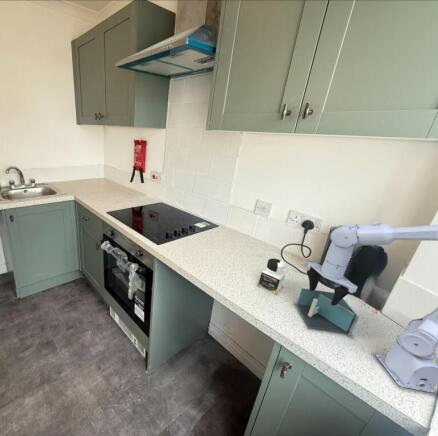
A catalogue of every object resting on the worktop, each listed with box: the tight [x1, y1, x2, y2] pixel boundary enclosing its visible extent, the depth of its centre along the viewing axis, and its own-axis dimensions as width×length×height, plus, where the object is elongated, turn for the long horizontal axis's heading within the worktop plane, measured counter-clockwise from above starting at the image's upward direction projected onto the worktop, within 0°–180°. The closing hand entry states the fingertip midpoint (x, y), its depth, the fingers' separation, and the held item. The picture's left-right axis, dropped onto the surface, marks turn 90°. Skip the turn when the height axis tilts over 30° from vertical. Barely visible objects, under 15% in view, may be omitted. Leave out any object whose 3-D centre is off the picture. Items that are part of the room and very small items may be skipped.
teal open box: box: [295, 287, 360, 337], centre depth 83 cm, size 12×12×8 cm
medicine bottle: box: [258, 258, 287, 294], centre depth 99 cm, size 7×7×12 cm
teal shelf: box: [308, 294, 356, 332], centre depth 81 cm, size 5×10×7 cm, turn 27°
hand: (322, 296), depth 82 cm, fingers open, 7 cm apart
